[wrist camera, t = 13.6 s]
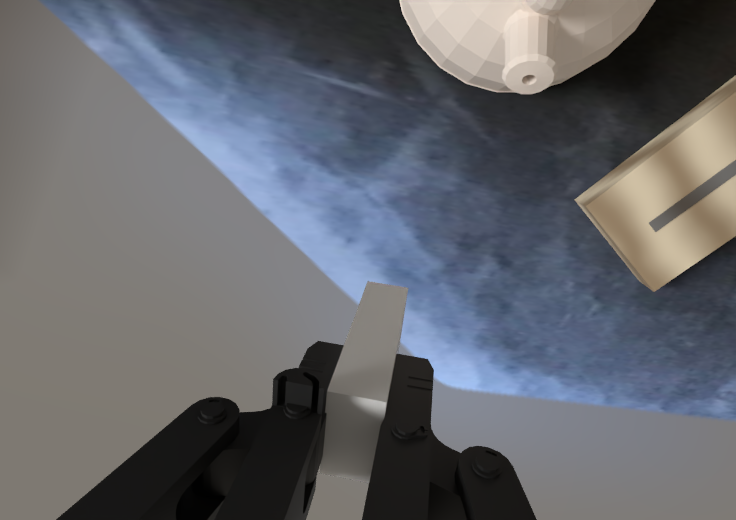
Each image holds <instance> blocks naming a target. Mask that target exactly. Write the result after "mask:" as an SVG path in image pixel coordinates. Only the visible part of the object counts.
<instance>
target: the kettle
mask: <svg viewBox="0 0 736 520" xmlns="http://www.w3.org/2000/svg"><path fill="white" fill-rule="evenodd" d="M399 1H400V5H401V10H402V14H403V16H404V17H405V19H406V21H407V23H408V25H409V27H410V29H411V31H412V33H413V35H414V37H415V39H416V41H417V43H418V44H419V45H420V46H421V47H422V49H423V50H424V51H425V52H426V53H427V54H428V55H429V56H430V57H431V58H432V59H433V61H434V62H435V63H436V64H437V65H438V66H439V67H440V68H442V69H443V70H445V71H446V72H448V73H450V74H451V75H453V76H455V77H456V78H458V79H459V80H461V81H463V82H464V83H466V84H469V85H472V86H476V87H479V88H483V89H487V90H490V91H494V92H516V93H520V94H534V93H537V92H541V91H542V90H544V89H546V88H547V87H549V86H553V85H556V84H560V83H562V82H564V81H566V80H567V79H569V78H571V77H573V76H574V75H576V74H578V73H580V72H582V71H583V70H585V69H587V68H589V67H590V66H592V65H593V64H595V63H597V62H598V61H600V60H602V59H604V58H605V57H607V56H608V55H609V54H610V53H611V52H612V51H613V50H614V49H616V48H617V47H618V46H619V45H620V44H621V43H622V42H623V41H624V40H625V39H626V38H627V37H628V36H630V35H631V34H632V33H633V32H634V31H635V30H636V28H637V27H638V25H639V24H640V22H641V21H642V20H643V18H644V17H645V15H646V14H647V12H648V11H649V9H650V8H651V6H652V5H653V3H654V2H655V1H656V0H399Z"/></svg>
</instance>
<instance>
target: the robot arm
mask: <svg viewBox="0 0 736 520" xmlns="http://www.w3.org/2000/svg"><path fill="white" fill-rule="evenodd" d="M407 292H408V288H405V287H399V286H393V285H387V284H381V283H375V282H369V281H368V282H367V285H366V287H365V290H364V293H363V295H362V298H361V301H360V304H359V306H358V309H357V312H356V314H355V317H354V320H353V322H352V325H351V328H350V331H349V334H348V336H347V339H346V341H345V344H344V345H338V344H332V343H327V342H321V341H318V342H316V343H315V344H313V345H312V346H311V347H309V348H308V349H307V351H306V354H305V355H304V357H303V360H302V361H301V363H300V365H299V368H294V369H288V370H285V371H283V372H281V373H279V374H278V375H277V376H276V377H275V378H274V379H273V403H272V407H271V408H270V409H267V410H263V411H257V412H240V413H239V408H238V406H237V405H236V403H234V402H233V401H231V400H229V399H226V398H221V397H210V398H206V399H203V400H199V401H198V402H196V403H195V404H193V405H191V406H190V407H189V408H188V409H186V410H185V411H184V412H183V413H182V414H180V415H179V416H178V417H177V418H176V419H175V420H173V421H172V422H171V423H170V424H169V425H168V426H166V427H165V428H164V429H163V430H162V431H160V432H159V433H158V434H157V435H156V436H154V438H152V439H151V440H150V441H149V442H147V443H146V444H145V445H144V446H143V447H141V448H140V449H139V450H138V451H137V452H136V453H134V454H133V455H132V456H131V457H130V458H128V459H127V460H126V461H125V462H124V463H122V464H121V465H120V466H119V467H118V468H117V469H115V470H114V471H113V472H112V473H111V474H110V475H108V476H107V477H106V478H105V479H104V480H103V481H101V482H100V483H99V484H98V485H97V486H95V487H94V488H93V489H92V490H91V491H89V492H88V493H87V494H86V495H85V496H84V497H82V498H81V499H80V500H79V501H78V502H77V503H75V504H74V505H73V506H72V507H70V508H69V509H68V510H67V511H66V512H65V513H63V514H62V515H61V516H60V517H59V518H58V519H56V520H306V517H307V515H308V511H309V508H310V505H311V501H312V498H313V495H314V492H315V487H316V486H315V485H316V475H317V472H318V469H319V466H320V473H321V474H326V475H330V476H335V477H340V478H345V479H350V480H355V481H360V482H365V483H369V487H368V492H367V497H366V502H365V507H364V512H363V517H362V520H537V519H536V517H535V515H534V513H533V511H532V508H531V506H530V504H529V501H528V499H527V497H526V495H525V492H524V490H523V488H522V486H521V483H520V481H519V479H518V477H517V475H516V472H515V470H514V468H513V466H512V465H511V463H510V462H509V460H508V459H507V458H506V457H505V456H503V455H502V454H501V453H500V452H498V451H495V450H493V449H491V448H488V447H482V446H474V447H469V448H467V449H465V450H464V451H462V453H459V452H457V451H455V450H452V449H451V448H449V447H447V446H445V445H444V444H443V443H441V442H440V441H439V440H438V439H437V438H436V437H435V435H434V434H433V431H432V430H431V407H432V390H433V373H434V370H433V368H432V366H431V364H430V362H429V361H428V359H424V358H418V357H412V356H407V355H401V354H398V351H399V344H400V338H401V331H402V325H403V318H404V311H405V305H406V298H407Z"/></svg>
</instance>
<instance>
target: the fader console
mask: <svg viewBox="0 0 736 520" xmlns="http://www.w3.org/2000/svg"><path fill="white" fill-rule="evenodd" d="M575 201H576V202H577V204H578V205H579V206H580V207H581V209H582V210H583V211H584V212H585V214H586V215H587V216H588V217H589V219H590V220H591V221H592V222H593V224H594V225H595V226H596V227H597V229H598V230H599V231H600V232H601V234H602V235H603V236H604V237H605V239H606V240H607V241H608V243H609V244H610V245H611V246H612V248H613V249H614V250H615V251H616V253H617V254H618V255H619V256H620V258H621V259H622V260H623V261H624V263H625V264H626V265H627V266H628V268H629V269H630V270H631V271H632V273H633V274H634V275H635V276H636V278H637V279H638V280H639V281H640V282H641V283H643V284H644V285H645V286H647V287H648V288H649V289H651V290H652V291H653V292H655V291H656V290H658V289H659V288H661V287H662V286H663V285H665V284H666V283H668V282H669V281H671V280H672V279H674V278H675V277H677V276H678V275H679V274H681V273H682V272H684V271H685V270H687V269H688V268H690V267H691V266H693V265H694V264H696V263H697V262H698V261H700V260H701V259H703V258H704V257H706V256H707V255H709V254H710V253H712V252H713V251H715V250H716V249H717V248H719V247H720V246H722V245H723V244H725V243H726V242H728V241H729V240H731V239H732V238H733V237H735V236H736V75H735V76H734V77H733V78H732V79H730V80H729V81H728V82H726V83H725V84H724V85H722V86H721V87H720V88H719V89H717V90H716V91H715V92H713V93H712V94H711V95H710V96H708V97H707V98H706V99H704V100H703V101H702V102H700V103H699V104H698V105H697V106H695V107H694V108H693V109H691V110H690V111H689V112H687V113H686V114H685V115H684V116H682V117H681V118H680V119H678V120H677V121H676V122H675V123H673V124H672V125H671V126H669V127H668V128H667V129H665V130H664V131H663V132H662V133H660V134H659V135H658V136H656V137H655V138H654V139H652V140H651V141H650V142H649V143H647V144H646V145H645V146H643V147H642V148H641V149H640V150H638V151H637V152H636V153H634V154H633V155H632V156H630V157H629V158H628V159H627V160H625V161H624V162H623V163H621V164H620V165H619V166H617V167H616V168H615V169H614V170H612V171H611V172H610V173H608V174H607V175H606V176H605V177H603V178H602V179H601V180H599V181H598V182H597V183H595V184H594V185H593V186H592V187H590V188H589V189H588V190H586V191H585V192H584V193H582V194H581V195H580V196H579V197H577V198H576V199H575Z"/></svg>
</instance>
